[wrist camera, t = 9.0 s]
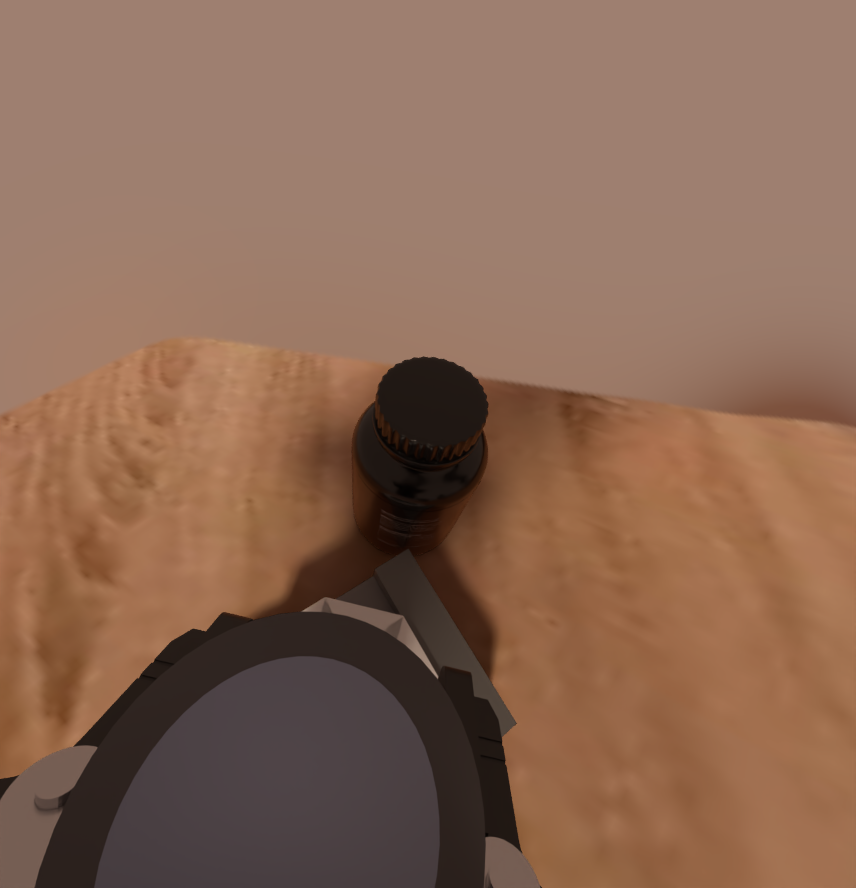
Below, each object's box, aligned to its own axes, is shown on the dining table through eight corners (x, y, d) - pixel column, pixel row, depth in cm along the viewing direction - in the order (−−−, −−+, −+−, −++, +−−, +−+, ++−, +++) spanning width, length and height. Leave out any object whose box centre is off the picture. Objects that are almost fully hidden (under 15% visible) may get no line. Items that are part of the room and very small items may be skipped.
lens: (358, 622, 15) (366, 545, 7) (431, 762, 13) (573, 904, 5) (219, 712, 13) (-28, 770, 5) (284, 893, 11) (76, 1544, 3)
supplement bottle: (473, 502, 27) (543, 398, 17) (412, 581, 24) (454, 510, 14) (397, 444, 29) (420, 316, 19) (329, 511, 26) (313, 400, 15)
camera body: (399, 569, 24) (409, 546, 20) (487, 715, 21) (520, 724, 17) (172, 711, 19) (120, 721, 15) (243, 932, 16) (203, 1023, 12)
